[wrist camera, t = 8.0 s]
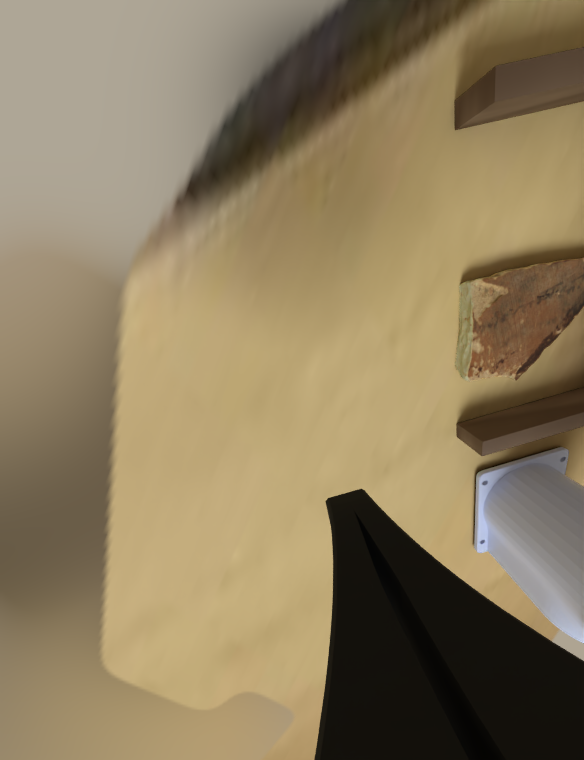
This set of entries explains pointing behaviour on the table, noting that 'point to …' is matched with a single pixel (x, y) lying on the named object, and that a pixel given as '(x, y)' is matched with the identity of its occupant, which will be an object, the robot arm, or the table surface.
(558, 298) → the shard
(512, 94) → the frame
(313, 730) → the table surface
